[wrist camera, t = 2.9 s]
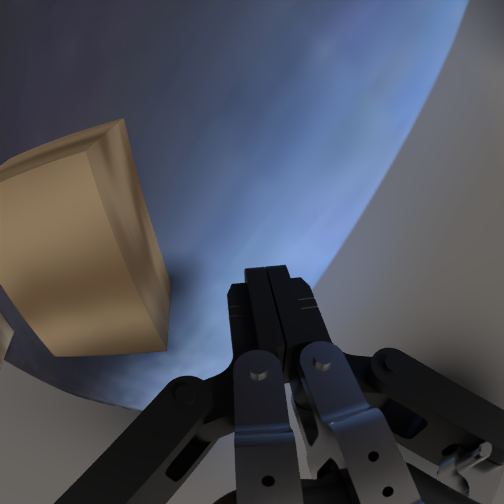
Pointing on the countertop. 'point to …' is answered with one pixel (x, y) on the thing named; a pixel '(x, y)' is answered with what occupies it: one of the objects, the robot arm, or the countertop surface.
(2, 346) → the board
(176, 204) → the countertop surface
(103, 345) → the oak block
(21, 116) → the countertop surface
